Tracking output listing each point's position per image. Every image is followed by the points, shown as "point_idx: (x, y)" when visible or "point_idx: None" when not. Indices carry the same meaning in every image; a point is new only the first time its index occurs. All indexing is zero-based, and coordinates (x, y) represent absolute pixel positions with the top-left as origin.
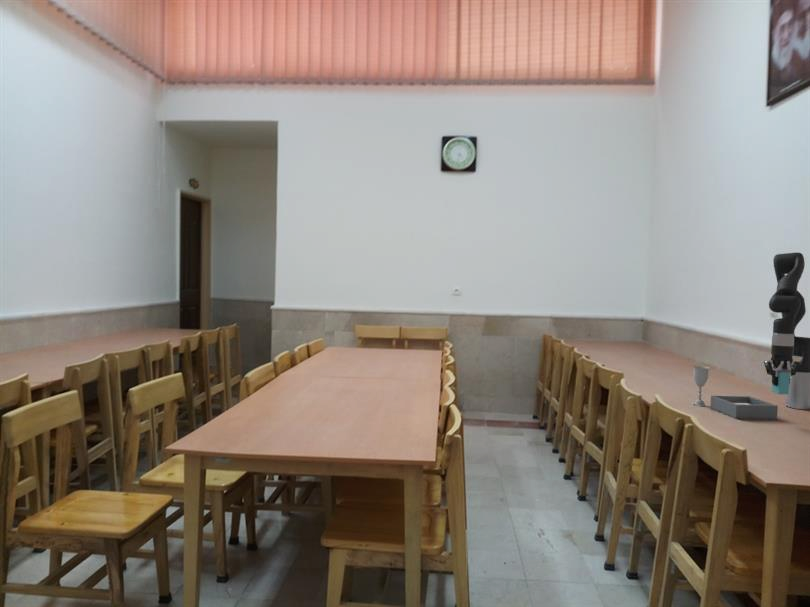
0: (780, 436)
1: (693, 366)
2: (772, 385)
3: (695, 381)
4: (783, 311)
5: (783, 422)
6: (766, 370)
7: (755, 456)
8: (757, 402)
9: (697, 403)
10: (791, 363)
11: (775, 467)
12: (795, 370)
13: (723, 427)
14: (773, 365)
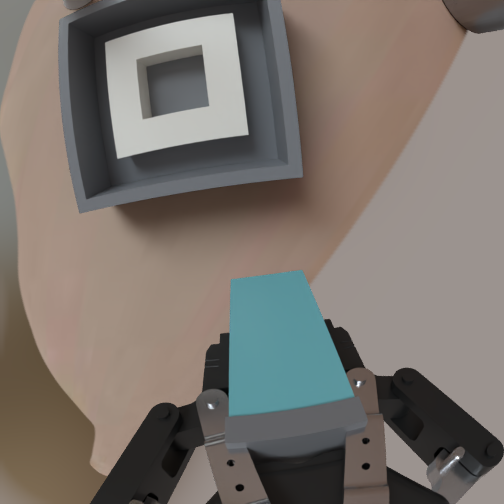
0: (172, 377)
1: None
2: (230, 309)
3: None
4: None
5: (286, 214)
6: (136, 436)
7: (96, 443)
8: (270, 40)
9: (64, 2)
10: (440, 474)
11: (113, 463)
12: (416, 434)
13: (53, 315)
14: (218, 488)
